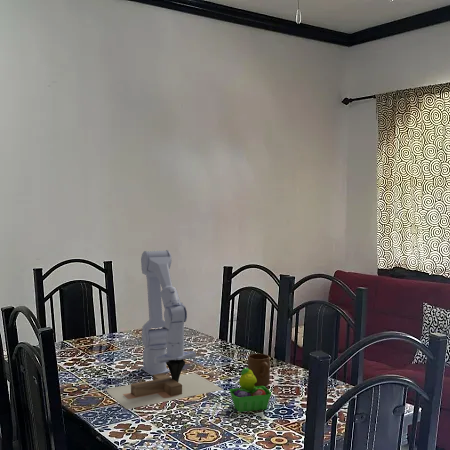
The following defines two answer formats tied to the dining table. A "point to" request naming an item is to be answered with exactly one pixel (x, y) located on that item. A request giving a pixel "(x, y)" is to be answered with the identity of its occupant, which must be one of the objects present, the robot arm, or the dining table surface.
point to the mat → (190, 387)
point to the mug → (260, 368)
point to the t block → (157, 386)
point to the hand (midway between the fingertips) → (175, 381)
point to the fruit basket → (249, 393)
